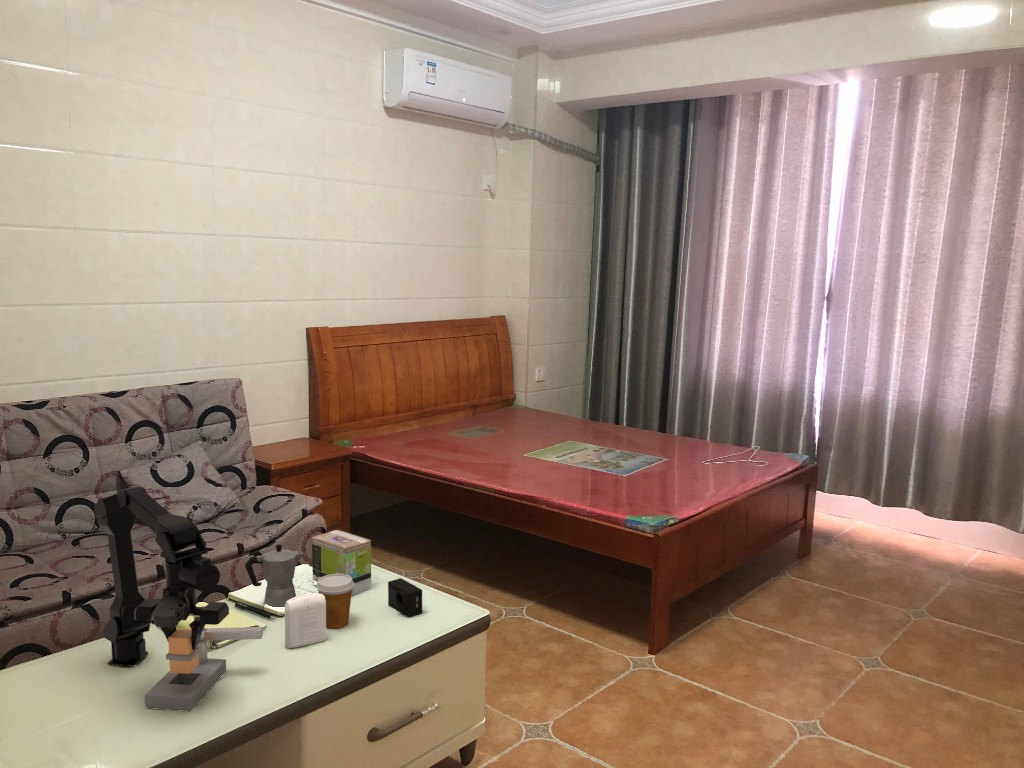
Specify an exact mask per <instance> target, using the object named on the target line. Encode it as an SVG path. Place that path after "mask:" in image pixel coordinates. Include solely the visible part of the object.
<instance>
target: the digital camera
mask: <svg viewBox="0 0 1024 768" xmlns="http://www.w3.org/2000/svg"><path fill="white" fill-rule="evenodd" d="M387 600H388V602H387V604H388V605H387V606H389V607H390V608H392V609H393V610H395V611H397V612H398V613H400V614H402V615H403V616H405V617H407V618H409V619H411V618H413V617H416V616H419V615H423V589H422V588H419V587H418V586H416V585H414V584H413V583H411V582H409V581H407V580H406V579H403V578H401V577H400V578H396V579H393V580H389V581H388V582H387Z"/></svg>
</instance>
